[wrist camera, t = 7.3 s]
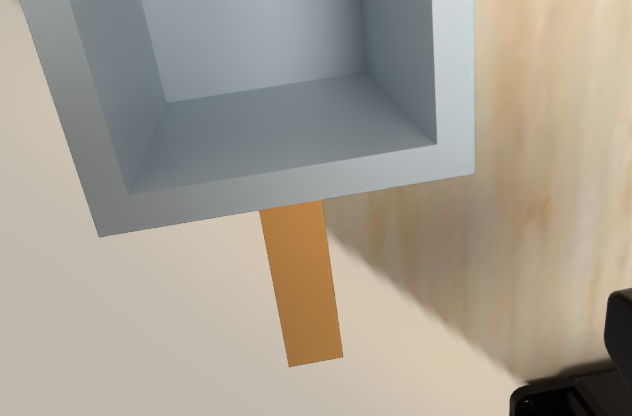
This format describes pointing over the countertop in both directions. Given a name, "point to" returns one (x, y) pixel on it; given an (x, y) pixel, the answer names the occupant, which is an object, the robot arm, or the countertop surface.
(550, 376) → the countertop surface
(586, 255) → the countertop surface
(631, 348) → the robot arm
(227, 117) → the toner caddy
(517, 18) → the countertop surface
